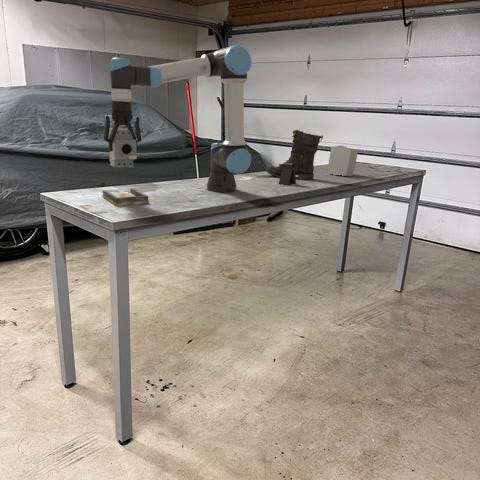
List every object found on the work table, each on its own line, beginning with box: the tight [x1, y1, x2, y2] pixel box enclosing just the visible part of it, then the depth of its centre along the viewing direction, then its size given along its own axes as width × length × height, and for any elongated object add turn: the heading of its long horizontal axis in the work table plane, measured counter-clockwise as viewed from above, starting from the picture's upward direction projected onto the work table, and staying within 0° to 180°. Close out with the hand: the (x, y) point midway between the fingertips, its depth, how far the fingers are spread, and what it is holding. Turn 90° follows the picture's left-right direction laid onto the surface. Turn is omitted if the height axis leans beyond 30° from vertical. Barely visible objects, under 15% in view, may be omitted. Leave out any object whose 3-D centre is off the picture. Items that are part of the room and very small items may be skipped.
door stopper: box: [278, 161, 297, 186], centre depth 232 cm, size 9×6×12 cm, turn 140°
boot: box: [265, 129, 324, 180], centre depth 254 cm, size 12×33×29 cm, turn 79°
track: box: [101, 188, 150, 207], centre depth 174 cm, size 14×18×3 cm
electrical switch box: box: [326, 145, 358, 177], centre depth 278 cm, size 15×15×20 cm
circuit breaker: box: [108, 127, 138, 168], centre depth 168 cm, size 8×14×15 cm, turn 32°
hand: (123, 159), depth 169 cm, fingers closed on circuit breaker, 8 cm apart
